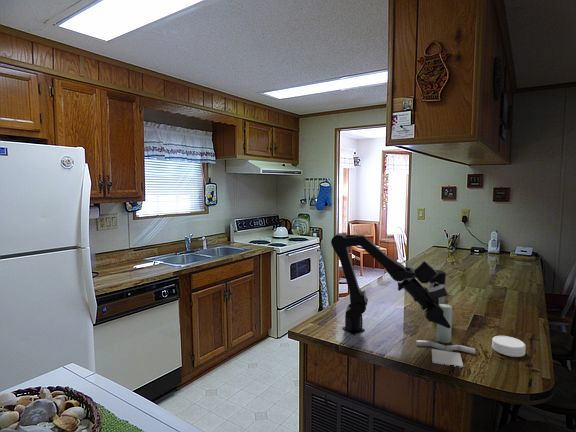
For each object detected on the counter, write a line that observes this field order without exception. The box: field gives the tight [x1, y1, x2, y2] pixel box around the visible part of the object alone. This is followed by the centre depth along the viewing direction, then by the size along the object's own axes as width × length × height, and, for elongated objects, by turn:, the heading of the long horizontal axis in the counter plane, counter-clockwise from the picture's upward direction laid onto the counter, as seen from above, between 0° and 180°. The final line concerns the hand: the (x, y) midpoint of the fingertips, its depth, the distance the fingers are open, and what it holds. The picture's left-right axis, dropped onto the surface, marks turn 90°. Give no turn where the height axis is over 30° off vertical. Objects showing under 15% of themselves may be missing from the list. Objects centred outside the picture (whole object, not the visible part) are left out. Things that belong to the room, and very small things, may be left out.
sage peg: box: [435, 303, 453, 344], centre depth 130 cm, size 5×5×13 cm
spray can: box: [428, 269, 447, 304], centre depth 155 cm, size 7×7×20 cm
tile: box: [431, 348, 464, 368], centre depth 116 cm, size 9×9×1 cm
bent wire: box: [415, 339, 476, 355], centre depth 123 cm, size 19×4×2 cm, turn 70°
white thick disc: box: [491, 335, 526, 358], centre depth 122 cm, size 10×10×4 cm
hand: (447, 322), depth 129 cm, fingers open, 9 cm apart
